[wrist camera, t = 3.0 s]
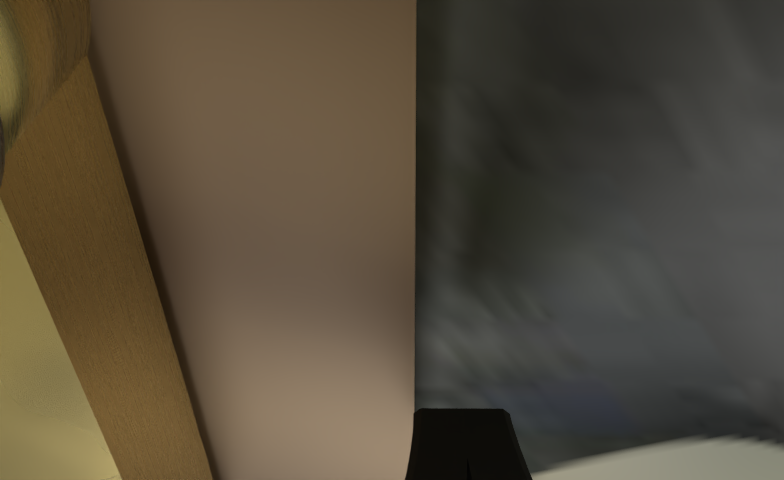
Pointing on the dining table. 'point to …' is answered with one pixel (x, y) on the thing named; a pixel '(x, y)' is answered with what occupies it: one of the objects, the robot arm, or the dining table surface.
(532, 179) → the dining table surface
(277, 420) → the strike board
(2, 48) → the latch bar
